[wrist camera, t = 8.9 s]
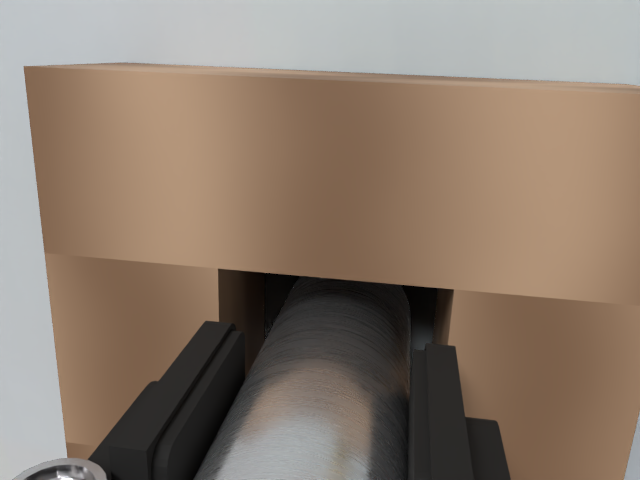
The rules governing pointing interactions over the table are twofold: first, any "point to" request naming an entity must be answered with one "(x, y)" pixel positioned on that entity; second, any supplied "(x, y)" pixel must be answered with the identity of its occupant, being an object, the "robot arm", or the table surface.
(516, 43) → the table surface
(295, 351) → the long pin
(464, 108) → the socket block
